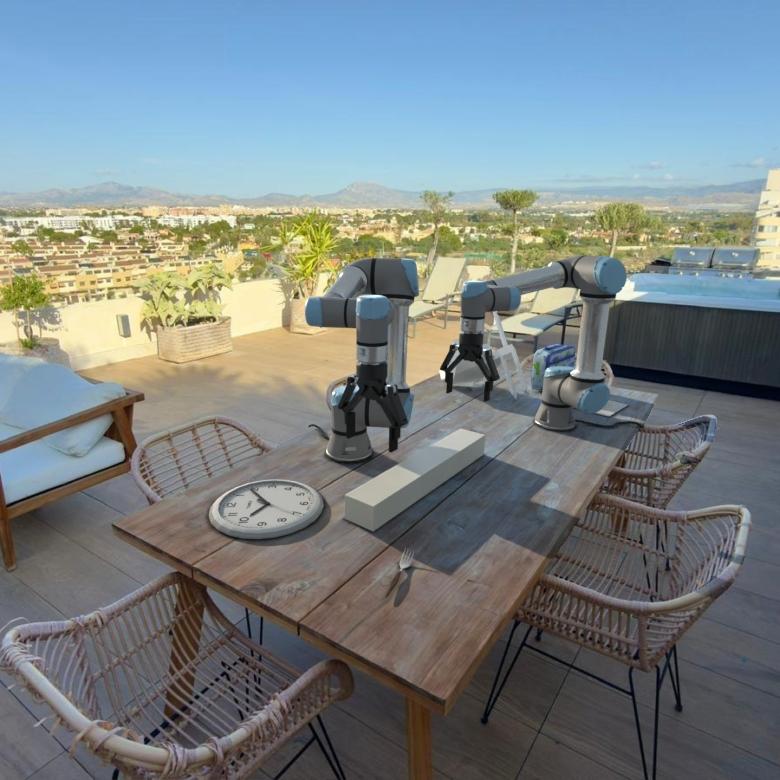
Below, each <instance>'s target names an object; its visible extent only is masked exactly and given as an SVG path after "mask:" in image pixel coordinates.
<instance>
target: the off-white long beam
mask: <svg viewBox="0 0 780 780" xmlns="http://www.w3.org/2000/svg"><path fill="white" fill-rule="evenodd" d="M485 446H486V434H483V433H479V432H476V431H472V430H468V429H464V428H458V429H457V430H454V431H453V432H451V433H450V434H448V435H447V436H444V437H443V438H441V439H439V440H438V441H436V442H434V443H432V444H431V445H429V446H426V448H423V449H422V450H420V451H418V452H417V453H415V454H413V455H411V456H410V457H408V458H406V459H404V460H403V461H400V463H398V464H396V465H394V466H392V467H390V468H388V469H387V470H385V471H383V472H382V473H379V475H377V476H375V477H373V478H371V479H369V480H367V481H366V482H365V483H363V484H361V485H359V486H357V487H355V488H354V489H352V490H351V491H349V492H347V493H345V494H344V520H346V521H349V522H351V523H353V524H355V525H357V526H360V527H362V528H364V529H366V530H368V531H371V532H375V531H376V530H378V529H379V528H380V527H382V526H383V525H385V524H386V523H387V522H389V521H390V520H392V519H394V518H395V517H396V516H397V515H399V514H401V513H402V512H404V511H405V510H406V509H408V508H409V507H410V506H412V505H413V504H415V503H416V502H417V501H418V502H419V501H420V500H421V499H422V498H423V497H425V496H426V495H428V494H429V493H431V492H432V491H434V490H436V488H438V487H439V486H441V485H443V484H444V483H446V482H447V481H448V480H449V479H451V478H452V477H454V476H455V475H456V474H458V473H460V472H461V471H463V470H464V469H465V468H467V467H468V466H470V465H471V464H473V463H474V462H476V461H477V460H478V459H480V458H481V457H483V456H484V455H485Z"/></svg>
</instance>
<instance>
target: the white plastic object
mask: <svg viewBox="0 0 780 780" xmlns="http://www.w3.org/2000/svg"><path fill="white" fill-rule="evenodd" d="M492 315H493V319H494V321H495V324H496V325H495V326H496V328H497V332H498V335H499V338H500V342H501V345H502V347H500V348H498V349H496V350H495V349H493V348H492V347H491V346H490V344H489V343H488V342H487V343H483V346H482V347H483V350H488V349H491V350H492V357H493V360H494V363H495V365H496V368H497V369H498V368H499V367H500V366H502V370H503V373H504V376H505V380H506V383H507V386H508V390H509V393H510V394H511V395H512V397H513V398H514V399H515V400H517V392H516V391H517V390H516V388H515V385H514V381H513V378H512V375H511V371H510V369H509V365H508V361H510V360H513V363H514V366H515V369H516V372H517V376H518V380H519V382H520V385H521V389H522V391H523V393H524V395H525V396H526V397H528V396H531V395H530V390H529V388H528V387H529V386H528V384H527V381H526V378H525V375H524V371H523V369H522V368H523V367H522V366H521V362H520V359H519V355H518V352H517V349H516V347H515V346H514V345H513V343H511V344H508V341H507V337H506V334H505V331H504V328H503V325H502V321H501V318H500V315H499V314H498V312H497V311H493V312H492ZM454 343H456V344H457V345H459V338H454V340H453V344H454ZM459 354H460V353H459V351H458V349H457V351H456V352H455V354H454V356H453V358H452V359H451V361H450V363H449V365H450V364H451V363H452V362H453V361H454V360H455V359H456V357H457V356H458V355H459ZM481 356H482V358H483V359H484V362H485V364H486V366H487V367H488V365H487V362H486V359H485V356H484V354H482V355H481ZM478 360H479V359H478ZM449 365H448V366H449ZM447 368H448V367H447ZM488 369H489V367H488ZM438 372H439V376H440V381H442V383H443V384H444V385H445V386H447V383H446V382H445V372H444V371H441V370H440V369H439V371H438ZM451 372H452V373H453V385H458V384H467V383H468V384H469V383H473V384H477V383H480V382H482V381H484V378H485V376H484V374H483V373H482V371H481V370H480V368H479V366H478V365H477V364H476V363H475V361H474V362H470V361H465V360H464V359H463V360H462V361H461V362H460V363H459V364H458V365H457V366H456V367H455V368H454V369H453V370H452V371H451Z"/></svg>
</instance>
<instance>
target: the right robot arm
mask: <svg viewBox="0 0 780 780" xmlns="http://www.w3.org/2000/svg"><path fill="white" fill-rule="evenodd" d="M627 278H628V276H627V269H626V266H625V265H624V264H623V262H622V261H621V260H620V259H618V258H615V257H611V256H606V255H605V256H603V255H587V254H580V255H574V256H571V257H566V258H563V259H559V260H555V261H551V262H550V263H549V264H548V265H547V266H543V267H538V268H533V269H530V270H527V271H522V272H518V273H514V274H509V275H506V276H501V277H496V278H493V279H489V280H465V281H464V282H463V283H462V288H461V294H460V316H459V317H460V318H459V330H460V331H459V334H458V335H459V336H458V339H459V345H457V344H456V343H454V342H453V343H452V344H450V345H449V349H448V352H447V354H446V356H445V357H444V359H443V360H442V361H443V362H442V364H441V365H440V367H439V370H441V371H444V372H445V382H446V383H447V385H446V391H445V393H446V394H451V393H453V390H454V389H453V388H454V384H453V373H452V372H451V371H452V370H453V369H454V368H455V367H456V366H457V365H458V364H459V363H460V362H461V361H462V360H463V359H464V360H465V361H470V362H474V361H475V363H476V364H477V365H478V366H479V368H480V370H481V371H482V373H483V374H484V376H485V377H484V378H485V379H486V381H484V389H483V390H484V391H483V402H484V403H486V402H489V401H490V400H491V392H493V390H494V382H497V381H499V380H500V378H501V376H500V374H499V371H498V367H497V368H496V365H495V363H494V360H493V357H492V350H493V349H492V350H491V349H488V350H483V347H482V346H483V344H484V338H485V337H484V335H485V334H484V332H485V321H486V313H490V312H492V313H493V312H494V311H496V312H511V311H515V310H518V308H519V307H520V305H521V302H522V296H524V295H527V294H531V293H535V292H539V291H544V290H547V289H555V290H559V289H564V288H567V289H569V288H570V289H578V290H579V296H578V297H579V298H580V299H581V300H582V309H581V317H580V327H579V335H578V344H577V351H576V358H575V360H576V361H575V366H574V367H566V366H556V367H549V368H547V369H546V370H545V374H544V380H543V391H541V402H540V405H539V407H538V410H537V411H536V413H535V417H534V424H535V425H536V426H537V427H539V428H542V429H544V430H549V431H556V432H567V431H572V430H574V429H575V428H576V423H578V424H579V423H580V424H584V425H588V426H593V427H599V428H604V429H613V428H615V427H617V426H618V425H636V426H638V427H639V428H641V429H645V426H643V424H641V423H640V422H637V421H632V420H628V421H627V420H626V421H625V420H624V421H616V422H615V423H614V424H610V425H609V424H602V423H601V424H600V423H596V422H590V421H587V420H582V419H576V418H575V417H576V416H575V413H574V409H575V410H578V411H579V412H583V413H586V414H596V412H598V411H600V410H601V409H602V408H603V407H604V406H605V405H606V404H607V402H608V400H610V396H611V390H610V388H609V386H608V385H607V384H605V378H606V375H605V374H604V373H603V371H602V368H603V367H602V366H603V358H604V353H605V352H604V351H605V345H606V338H607V337H606V336H607V329H608V322H609V314H610V307H611V303H612V302H613V301H615V300H616V298H617V294H618V293H620V292H621V291H622V290H623V288H624V287H625V285H626V283H627ZM457 349H458V351H459V353H460V354H459V355H458V356H457V357H456V359H455V360H454V361H453V362H452V363H451V364H450V365H449V363H450V361H451V359H452V358H453V356H454V354H455V352H456V351H457ZM482 354H484V356H485V359H486V362H487V365H488V367H489V369H488V367H487V366H486V364H485V362H484V359H483V358H482V356H481V355H482ZM478 359H479V360H478ZM447 367H448V368H447Z"/></svg>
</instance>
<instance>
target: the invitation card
mask: <svg viewBox="0 0 780 780" xmlns="http://www.w3.org/2000/svg"><path fill="white" fill-rule="evenodd" d="M628 406H629V404H627V403H623V402H618V401H614V400H610V399H609V400H608V402H607V404H606V405H605V406H604V407H603V408H602V409H601V410H600V411H598V412H596V413H595V414H596V415H600V416H604V417H608V418H609V417H611V416H613V415H614V414H616V413H617V412H619V411H621V410H623V409H624V408H626V407H628Z"/></svg>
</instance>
